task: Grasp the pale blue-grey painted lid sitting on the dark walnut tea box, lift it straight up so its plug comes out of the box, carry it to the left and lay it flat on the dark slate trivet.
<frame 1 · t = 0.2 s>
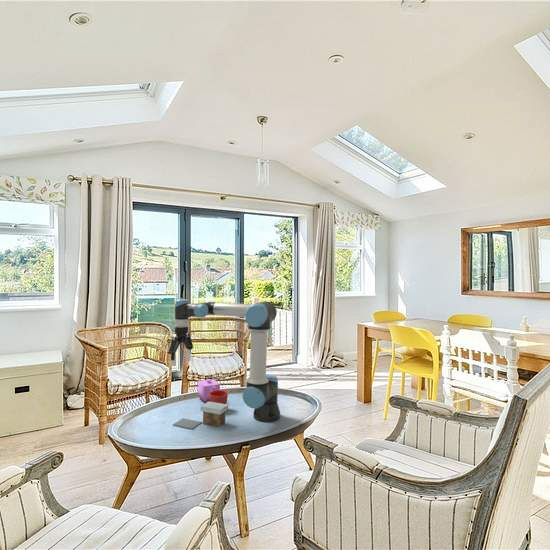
hand: (181, 363, 213), 28 cm above the table, fingers open, 13 cm apart
tea box: (214, 423, 198), on the table
flower pot: (218, 409, 217), on the table
lid: (214, 410, 197), point 7 cm above the table, touching tea box
trivet: (187, 424, 195), on the table
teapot: (209, 400, 232), on the table
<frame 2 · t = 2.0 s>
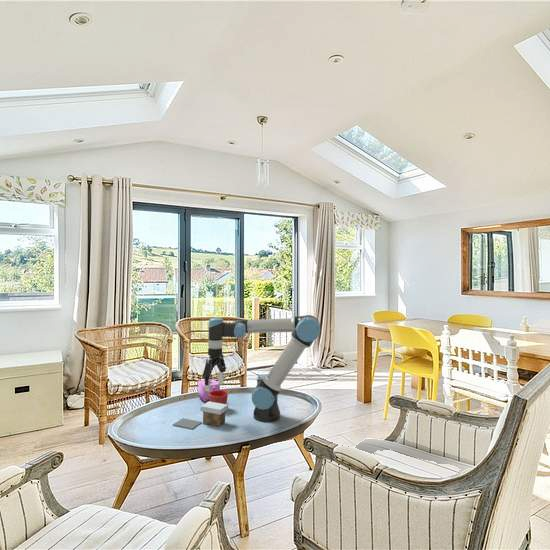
hand: (214, 387, 197), 19 cm above the table, fingers open, 13 cm apart
nothing on the table moved.
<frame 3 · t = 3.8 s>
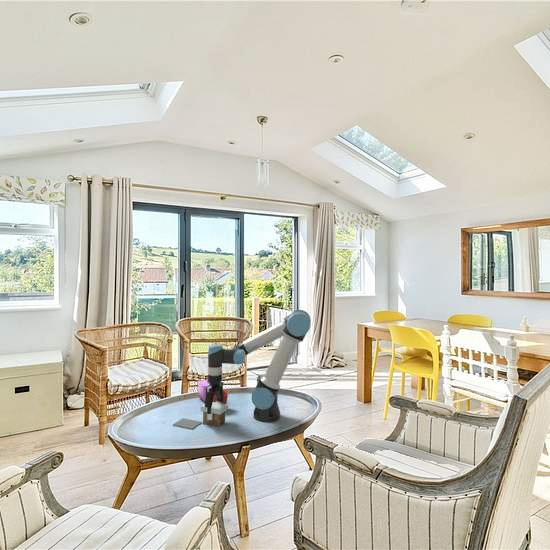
hand: (214, 416, 197), 4 cm above the table, fingers closed on lid, 8 cm apart
lid: (214, 410, 197), point 7 cm above the table, touching gripper, tea box
everything else where it was.
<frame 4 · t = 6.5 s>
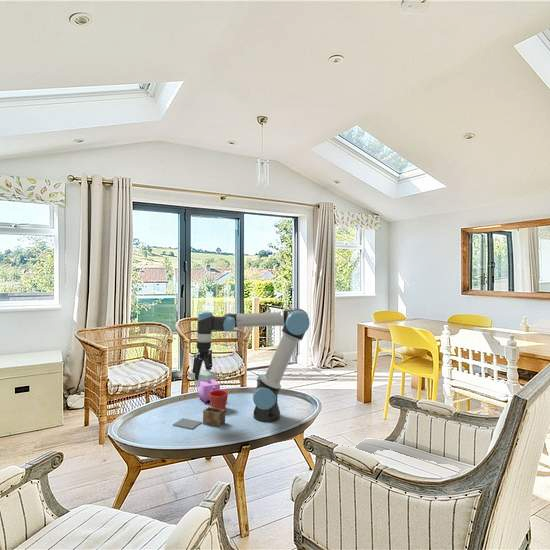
hand: (201, 383, 197), 21 cm above the table, fingers closed on lid, 8 cm apart
lid: (202, 377, 197), point 25 cm above the table, touching gripper
everything else where it was.
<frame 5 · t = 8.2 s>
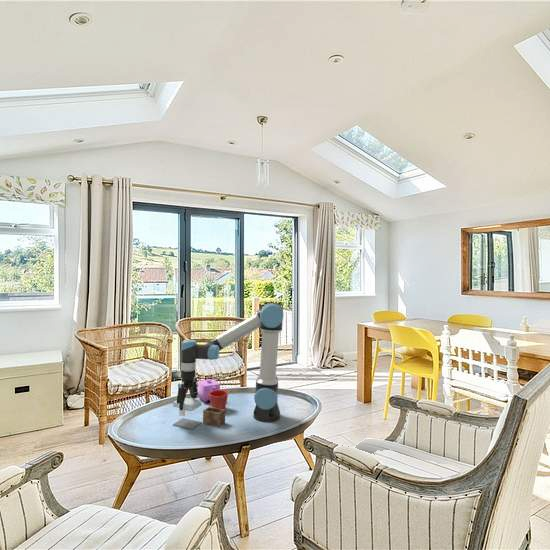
hand: (187, 412, 195), 6 cm above the table, fingers closed on lid, 8 cm apart
lid: (187, 406, 195), point 10 cm above the table, touching gripper
everything else where it was.
when the fingers open (2 cm above the table, at t = 9.5 s): lid drops 3 cm, resting on trivet.
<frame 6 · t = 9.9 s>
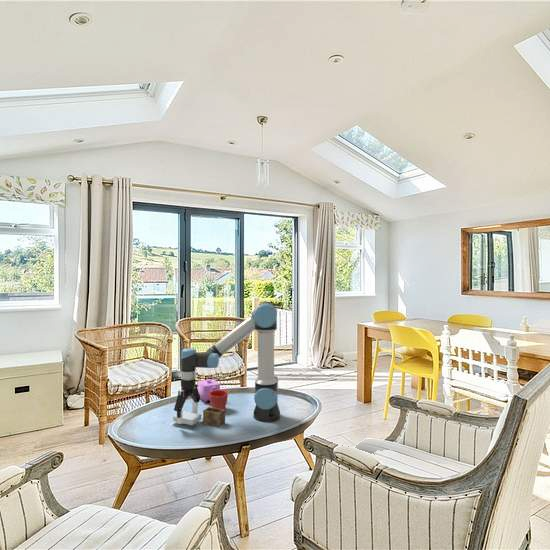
hand: (187, 418, 195), 3 cm above the table, fingers open, 13 cm apart
lid: (187, 420, 196), point 2 cm above the table, touching trivet
everything else where it was.
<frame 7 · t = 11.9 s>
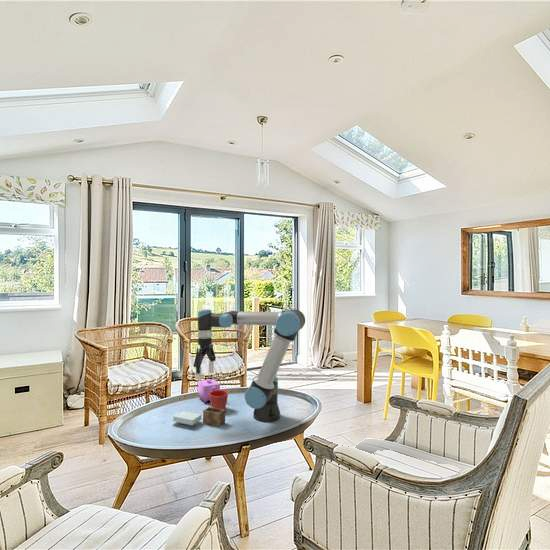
hand: (205, 375, 205), 23 cm above the table, fingers open, 13 cm apart
nothing on the table moved.
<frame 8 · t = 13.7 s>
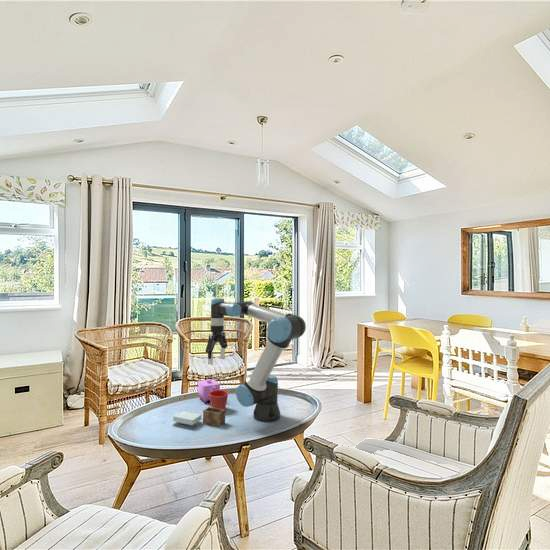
hand: (216, 361, 214), 29 cm above the table, fingers open, 13 cm apart
nothing on the table moved.
at the end: lid inside the target area on the trivet (0.0 cm from its centre), point 2.1 cm above the trivet's base; lid tilted 0°; lid touching trivet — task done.
